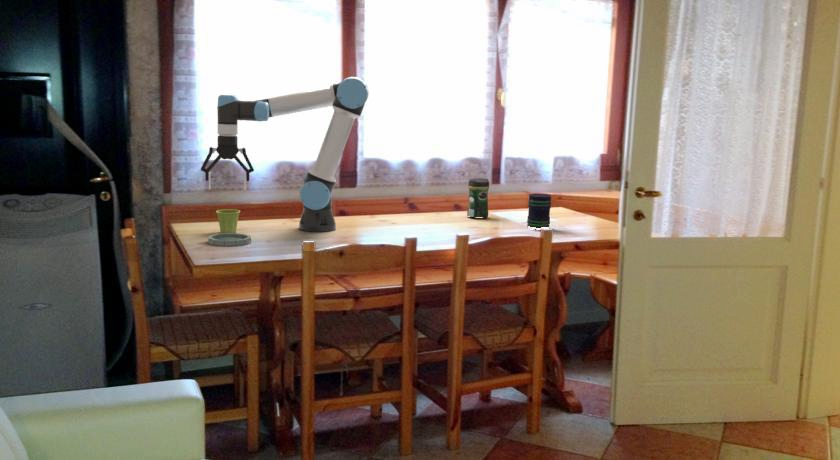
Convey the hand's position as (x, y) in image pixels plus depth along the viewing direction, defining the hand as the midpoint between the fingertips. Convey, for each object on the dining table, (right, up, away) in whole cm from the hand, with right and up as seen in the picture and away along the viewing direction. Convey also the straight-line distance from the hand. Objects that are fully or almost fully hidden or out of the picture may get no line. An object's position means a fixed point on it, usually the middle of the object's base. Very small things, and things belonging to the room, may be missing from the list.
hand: (227, 189), depth 320 cm
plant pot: (0, -17, +3) cm, 18 cm away
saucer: (+5, -20, -16) cm, 26 cm away
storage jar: (+128, -16, +36) cm, 134 cm away
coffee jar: (+103, -10, +62) cm, 120 cm away
